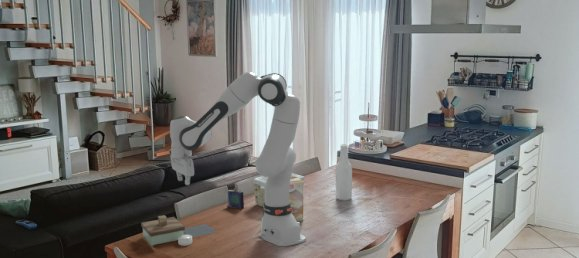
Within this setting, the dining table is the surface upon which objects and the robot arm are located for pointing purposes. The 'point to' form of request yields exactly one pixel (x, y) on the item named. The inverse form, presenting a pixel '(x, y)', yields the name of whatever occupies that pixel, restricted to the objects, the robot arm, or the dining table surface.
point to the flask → (235, 198)
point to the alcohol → (344, 175)
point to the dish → (161, 237)
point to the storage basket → (260, 184)
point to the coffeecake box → (296, 198)
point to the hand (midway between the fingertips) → (183, 182)
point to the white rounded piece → (185, 240)
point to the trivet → (199, 230)
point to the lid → (162, 226)
